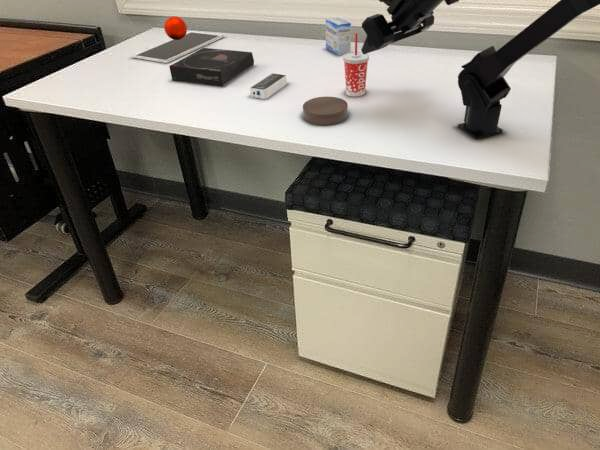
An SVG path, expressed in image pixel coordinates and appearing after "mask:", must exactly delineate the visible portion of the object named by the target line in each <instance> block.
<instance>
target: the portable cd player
mask: <svg viewBox="0 0 600 450" xmlns="http://www.w3.org/2000/svg"><path fill="white" fill-rule="evenodd" d="M254 66H255V58H254V55H253V52H252V51H243V50H242V51H241V50H231V49H221V48H220V49H219V48H210V47H201V48H199V49H197V51H196V50H195V52H192V53H191V54H189V55H187V56H185V57H183V58H182V59H179V60H178V61H176V62H174V63H172V64H170V65H169V66H168V67H169V72H170V77H171V80H172V81H173V82H180V83H188V84H196V85H205V86H213V87H221V88H224V87H225V86H227V85H229V84H230V83H232V82H233V81H234V80H235V79H237V78H238V77H240V76H241V75H243V74H245V73H246V72H248V71H249V70H251V69H252V68H253V67H254Z"/></svg>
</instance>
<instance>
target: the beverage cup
mask: <svg viewBox="0 0 600 450" xmlns="http://www.w3.org/2000/svg"><path fill="white" fill-rule="evenodd" d="M369 60H370V54H369V53H367V54H363V53H362V51H358V32H357V33H356V32H355V34H354V51H351V52H350V53H347V54H343V55H342V61H343V64H344V65H343V66H344V81H345V82H344V83H345V94H346V95H347V96H348V97H361V96H364V95H365V93H366V86H367V73H368V63H369Z"/></svg>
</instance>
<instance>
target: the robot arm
mask: <svg viewBox="0 0 600 450" xmlns="http://www.w3.org/2000/svg"><path fill="white" fill-rule="evenodd" d="M378 1H379V3H383V4H384V5H386V6H387V8H386V11H387V13H388V15H391V17H390V19H391V21H387V19H386V17H385V16H384V14H381V13H376V14H372V15H370V16H368V17H366V18H365V19H364V20H363V21H362V22H361V28H362V29H363V31H364V33H365V35H366V37H365V40H364V42H363V44H362V47H361V49H360V52H362V53H363V54H369V53H372V52H375V51H380V50H382V49H384V48H387V47H388V46H389V45H390V44H393V43H397V42H398V41H402V40H404V39H407V38H410V37H413V36H416V35H418V34H421V33H423V32H425V31H426V30H429V29H430V28H431V27H432V26H433V25H434V24H435V16H434V14H435V11H434V10H436V8H437V7H438V6H440V4H442V2H445V4H446V6H451V5H453V4H456V3H458V2H459V1H460V0H378ZM599 5H600V0H559V1H557V2H556V3H555V4H554V5H553V6H552V7H550V8H549V9H547V11H545V12H543V14H540V16H538V17H537V18H536V19H535V20H534V21H533V22H531V23H530V24H529V25H527V26H526V27H525V28H524V29H523V30H521V31H520V32H519V33H518V34H516V35H515V36H513V37H512V38H511V39H510V40H508V41H507V42H506V43H505V44H504V45H503V46H501V47H500V48H499V49H497V50H496V48H495V46H494V45H491V46H489V47H487V48H485V49H484V50H481V51H479V52H477V54H475V55H474V56H473V58H472V59H471V60H470V61H468V62H467V63H464V64H463V65H461V68H462V70H461V71H459V73H458V75H457V85H458V88H459V89H460V95H461V99H462V103H463V106H464V107H465V111H464V118H463V122H462V123H458V124H457V128H458V129H459V130H461V131H463V132H465V133H466V134H468V135H469V136H471V137H472V138H474V139H476V140H479V139H483V138H487V137H491V136H495V135H499V134H502V133H503V132H504V129H502V128H500V127H498V126H499V122H500V116H501V111H502V106H503V105H502V104H501V101H502V100H503V99H506V98H507V96H508V95H509V93H510V92H511V90H512V88H511V86H510V85H509V83H508V82H507V80H506V78H505V76H506V75H507V74H508V72H510V70H511V69H512V68H513V66H514V65H515V64H516V63H517V62H518V61H520V60H521V59H522V58H524V57H525V56H526V55H528V54H529V53H531V52H532V51H533V50H535V49H536V48H538V47H539V46H540V45H542V44H543V43H545V41H547V40H548V39H549V38H551V37H552V36H553V35H555V34H556V33H557V32H559V31H560V30H562V29H563V28H565V27H566V26H567V25H569V24H570V23H571V22H572V21H575V19H577V18H578V17H579V16H581V15H582V14H584V13H586V12H587V11H590V10H591V9H593V8H595V7H597V6H599Z"/></svg>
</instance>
